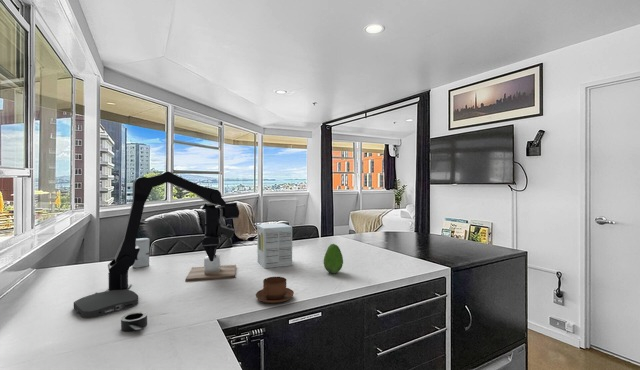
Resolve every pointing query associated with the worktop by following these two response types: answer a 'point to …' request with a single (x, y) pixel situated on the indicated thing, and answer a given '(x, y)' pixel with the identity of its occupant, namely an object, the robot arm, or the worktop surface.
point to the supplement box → (274, 245)
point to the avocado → (333, 259)
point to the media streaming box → (105, 303)
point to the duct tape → (134, 321)
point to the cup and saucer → (274, 290)
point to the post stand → (198, 273)
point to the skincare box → (142, 253)
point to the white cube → (212, 265)
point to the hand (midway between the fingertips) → (212, 258)
